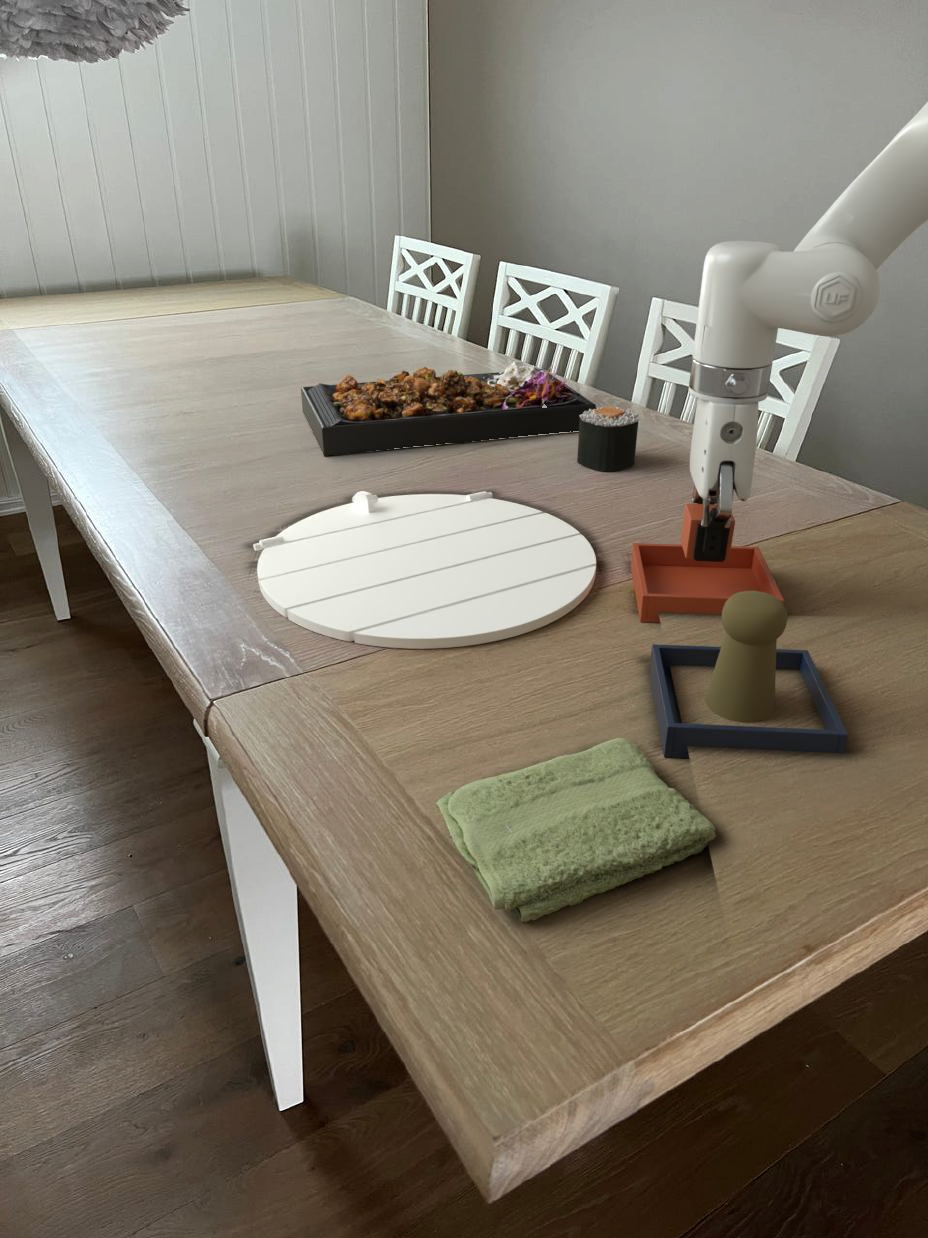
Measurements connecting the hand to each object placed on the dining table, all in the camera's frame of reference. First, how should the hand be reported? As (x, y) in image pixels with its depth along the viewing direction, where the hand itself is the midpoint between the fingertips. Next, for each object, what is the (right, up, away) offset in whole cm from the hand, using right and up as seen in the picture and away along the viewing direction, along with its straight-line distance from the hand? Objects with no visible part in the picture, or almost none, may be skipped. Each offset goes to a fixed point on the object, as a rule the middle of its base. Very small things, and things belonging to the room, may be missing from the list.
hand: (705, 548), depth 99 cm
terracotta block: (0, 0, 0) cm, 0 cm away
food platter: (-29, +26, +59) cm, 71 cm away
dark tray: (-2, -16, -17) cm, 24 cm away
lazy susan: (-30, -1, +10) cm, 32 cm away
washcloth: (-18, -24, -31) cm, 43 cm away
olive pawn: (-2, -16, -18) cm, 24 cm away
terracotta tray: (0, -5, +3) cm, 6 cm away
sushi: (-4, +16, +41) cm, 44 cm away
